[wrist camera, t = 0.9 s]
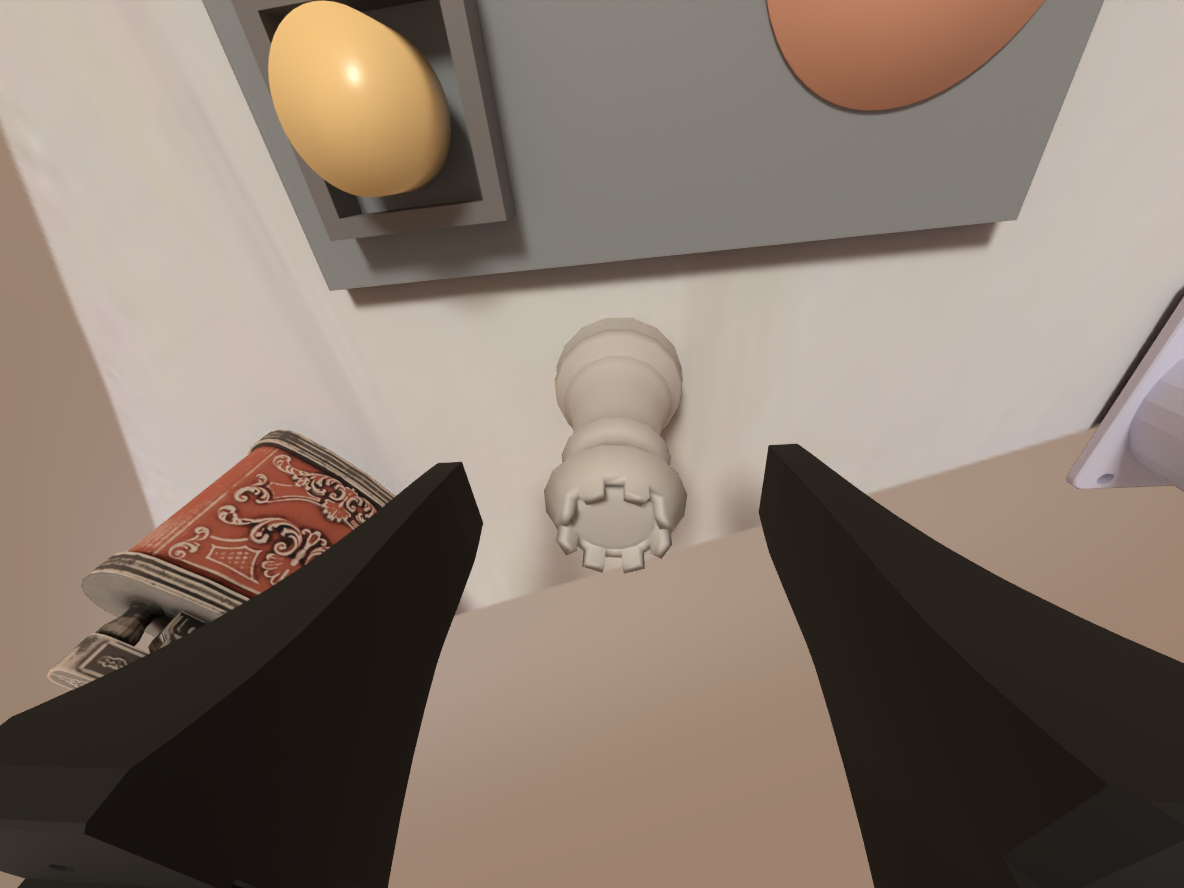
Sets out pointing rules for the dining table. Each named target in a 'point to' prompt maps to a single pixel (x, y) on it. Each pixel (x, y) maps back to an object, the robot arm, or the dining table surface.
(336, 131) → the button
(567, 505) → the rook chess piece
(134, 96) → the dining table surface
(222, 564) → the lighter
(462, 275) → the grey board
